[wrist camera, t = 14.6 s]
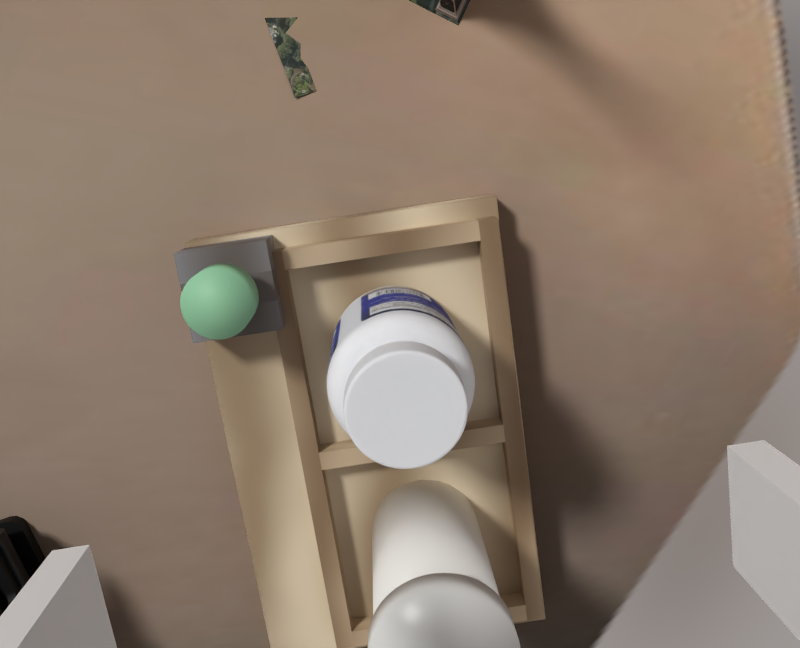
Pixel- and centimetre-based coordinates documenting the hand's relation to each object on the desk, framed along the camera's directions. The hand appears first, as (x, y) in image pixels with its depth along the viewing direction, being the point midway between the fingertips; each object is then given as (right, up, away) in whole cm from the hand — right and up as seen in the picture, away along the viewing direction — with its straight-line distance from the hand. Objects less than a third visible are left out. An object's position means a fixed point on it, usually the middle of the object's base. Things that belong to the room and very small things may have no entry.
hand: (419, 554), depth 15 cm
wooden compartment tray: (-1, 0, +19) cm, 19 cm away
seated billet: (+1, -5, +19) cm, 20 cm away
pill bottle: (-1, +4, +17) cm, 18 cm away
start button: (-7, +6, +15) cm, 18 cm away
